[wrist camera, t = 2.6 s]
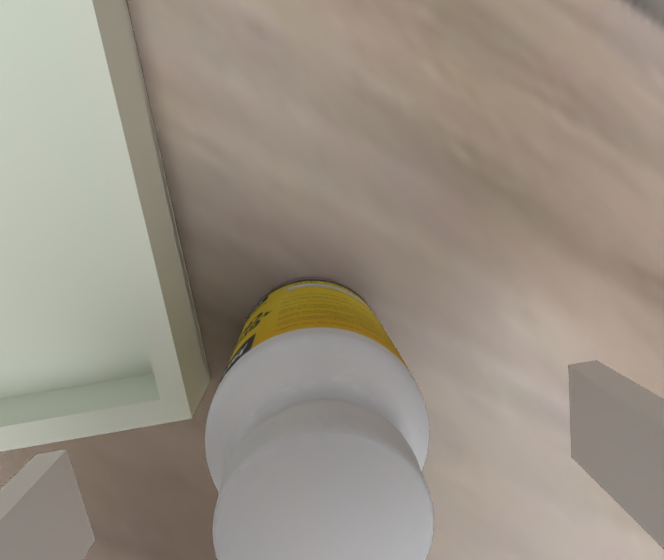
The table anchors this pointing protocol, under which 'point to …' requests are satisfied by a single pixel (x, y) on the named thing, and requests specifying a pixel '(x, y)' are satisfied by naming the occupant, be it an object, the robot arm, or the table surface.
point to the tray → (86, 235)
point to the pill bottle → (318, 435)
